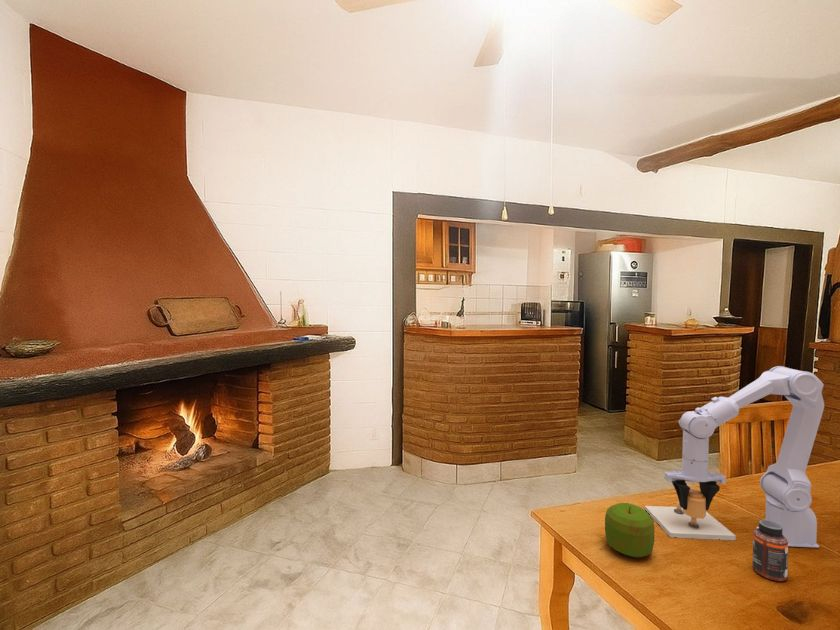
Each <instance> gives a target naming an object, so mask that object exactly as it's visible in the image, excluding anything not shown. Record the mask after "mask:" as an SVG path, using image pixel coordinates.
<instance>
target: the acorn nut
mask: <svg viewBox="0 0 840 630" xmlns="http://www.w3.org/2000/svg"><path fill="white" fill-rule="evenodd" d="M682 511H683V512H684V513H685V514H686V515H687V516H690V517H693V518H700V519H704V518H705V516H706V512H707V510H706V497H705V496H704V495H703V493H702V492H700V490H697V489H691V488H690V490H689V494H688V503H687V510H684V509H683V510H682Z"/></svg>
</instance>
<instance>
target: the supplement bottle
mask: <svg viewBox="0 0 840 630" xmlns="http://www.w3.org/2000/svg"><path fill="white" fill-rule="evenodd" d="M758 527H759V528H757V529H756V528H755V529H754V530H753V531H752V534H753V535H752V536H753V537H752V568H753V570H754V571H755V572H756V573H757V574H759V576H762V577H763V578H765V579H768V580H771V581H775V582H785V581H786V580H788V574H789V573H788V568H789V567H788V566H789V562H788V560H789V559H788V558H789V546H788V541H787V539H786V537H785V536H784V535H782V533H783V532H782V526H781V525H779V524H777V523H775V522H772V521H768V520H765V519H761V520H759V521H758Z"/></svg>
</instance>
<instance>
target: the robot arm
mask: <svg viewBox="0 0 840 630" xmlns="http://www.w3.org/2000/svg"><path fill="white" fill-rule="evenodd" d="M824 386H825V385H824V383H823V382H822V381H821V379H819V378H818V377H817V375H816V374H814V373H812V372H810V371H806V370H805V371H804V370H800V369H799V370H798V369H795V368H794V369H793V368H790V367H786V366H782V365H777V366H774V367H771V368H770V369H769V370H765V371H763V372H762V373H761V375H760V376H759V377H758V378H756V379H755V380H754V381H752V382H750V383H749V384H746V386H744V387H742V388H741V389H740V390H738V391H736V392H735V393H733V394H731V395H730V396H728V397H727V396H718V397H717V396H714V397H711V399H710V400H711V401H710V402H708V403H706V404H704V405H703V406H702V405H701V406H700V407H699V406H698V407H696V408H695V411H685V413H683V414H682V415H681V417H680V419H678V424H679V427H680V428H681V429H682V456H681V457H682V458H681V460H682V461H681V463H682V464H681V465H682V466H681V470H674V471H664V478H663V479H665V481H667V482H668V483H671V484H672V486H673V488H674V491H675V492H676V495H677V499H678V501H679V504H680V506H681V507H682V508H683V509H684V510H687V503H688V494H689V490H690V489H691V487H690V486H689V485H688V483H689V482H692V483H693V482H696V483H699V491H700V492H702V493H703V495H704V496H705V497H706V511H709V509H710V506H711V503H712V501H713V499H714V497H715V496H716V494H718V493H719V491H720V490H721V489H720V488H721V487H720V486H719V485H718V484H717V483H720V484H722V485H726V483H727V476H726V475H724V474H723V473H715V472H710V471H709V450H710V448H709V445H710V442H709V441H710V437H711V436H712V435H713V434H714V432H715V429H717V428H718V427H720V426H721V425H724V423H727V422H729V421H730V420H732V419H734V418H736V417H737V416H739V411H740V409H742V408H744V407H746V406H747V405H749V404H752V403H754V402H756V401H758V400H760V399H763V398H764V397H766V396H768V395H780V396H784V397H785V399H787V400H788V402H789V403H790V404H791V405H792V409H791V412H790V416H789V419H788V422H787V425H786V430H785V433H784V437H783V439H782V443H781V446H780V449H779V450H780V451H779V453H778V457H777V461H776V462H775V463H773V464H772V463H771V464H770V465H768V466H767V469H766V471H765V473H763V475H762V476H760V479H759V485H760V488H761V489H762V491H764V493H765V494H764V496H765V519H764V520H768V521H772V522H775V523H777V524H779V525H781V526H782V532H783V533H782V535H784V536H785V537H786V539H787V541H788V547H795V548H820V545H819V544H817V536H818V535H817V533H818V532H817V531H818V530H817V529H818V528H817V527H818V519H817V517H816V514H815V513H814V511H813V509H811V507H810V506H811V504H812V501H813V499H812V498H813V497H812V493H811V490H812V487H813V485H812V483H811V481H810V480H809V478H808V475H807V474H806V470H807V467H808V464H809V461H810V457H811V453H812V449H813V446H814V444H815V443H814V442H815V440H816V437H817V433H818V430H819V426H820V423H821V421H822V417H823V412H824V410H825V401H824V398H823V397H824V396H823V394H822V393H823V389H824ZM687 482H688V483H687ZM757 528H759V526H756V528H755V529H757Z"/></svg>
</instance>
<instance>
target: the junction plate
mask: <svg viewBox="0 0 840 630" xmlns="http://www.w3.org/2000/svg"><path fill="white" fill-rule="evenodd" d="M644 510H646V511H647V512H648V513H649V514H650V517H651V518H652V519H653V521H654V522H655V523H656V522H657V523H658V524H659V525H660V526H659V525H658V524H657V523H656V524H657V525H658V526H659V527H660V528H661V529H662V530H663V531H664V532H665V533H666V534H667V535H668V537H669V536H670V537H671V538H674V537H677V538H676V539H692V538H693V539H696V540H698V539H699V540H717V541H718V540H719V539H720V540H719V541H736V540H737V536H736V534H734V533H733V532H732V531H730V530H729V528H727V527H726V526H724V525H723V524H722V523H721V522H719V520H718V519H717V518H715V517H714V516H713V515H711V514H710V513H708V512H707V511H706V516H705V518H704V519H700V518H693V517H690V516H687V515H686V514H685V513H684V512H683V511H682V510H683V508H682V507H681V506H680V504H679V500H677V501H676V506H661V505H659V506H658V505H644ZM670 537H669V538H670ZM674 539H675V538H674Z"/></svg>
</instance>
